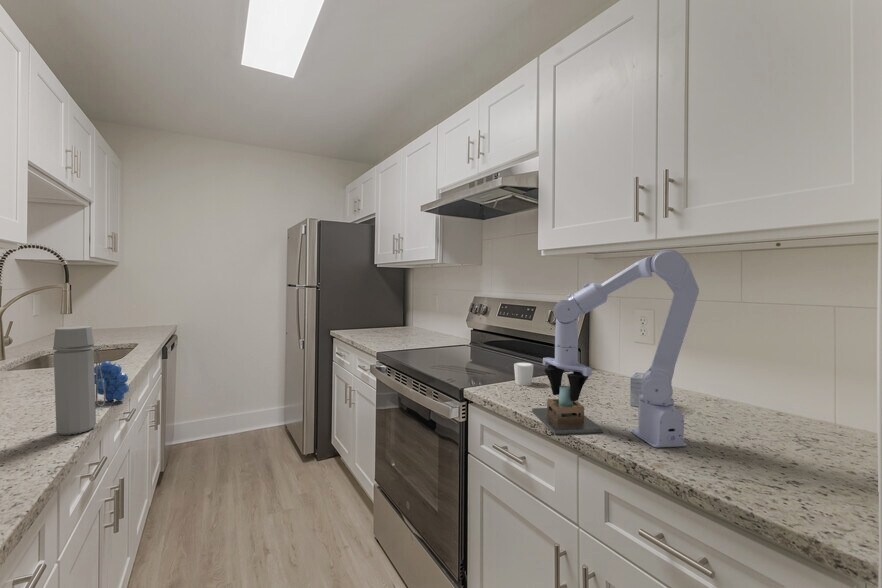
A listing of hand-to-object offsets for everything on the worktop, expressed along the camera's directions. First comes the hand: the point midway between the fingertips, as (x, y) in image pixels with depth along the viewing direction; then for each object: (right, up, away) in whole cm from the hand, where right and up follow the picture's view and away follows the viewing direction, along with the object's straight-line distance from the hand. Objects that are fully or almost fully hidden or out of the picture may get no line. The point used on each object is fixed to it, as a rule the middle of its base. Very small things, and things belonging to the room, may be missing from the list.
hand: (565, 397), depth 103 cm
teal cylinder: (0, -5, 0) cm, 5 cm away
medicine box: (+27, -6, +15) cm, 32 cm away
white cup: (-3, -5, +37) cm, 38 cm away
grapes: (-131, -5, +14) cm, 132 cm away
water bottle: (-120, -6, -7) cm, 120 cm away
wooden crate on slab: (0, -6, 0) cm, 6 cm away
